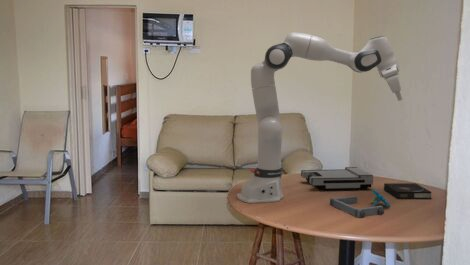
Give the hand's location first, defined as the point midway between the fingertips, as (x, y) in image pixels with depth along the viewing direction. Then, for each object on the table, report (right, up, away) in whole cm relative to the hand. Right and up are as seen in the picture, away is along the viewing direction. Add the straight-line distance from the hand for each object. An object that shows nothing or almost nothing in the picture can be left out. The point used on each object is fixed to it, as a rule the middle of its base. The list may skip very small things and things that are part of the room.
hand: (399, 98), depth 194 cm
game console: (-21, -44, +34) cm, 60 cm away
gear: (-9, -49, -1) cm, 50 cm away
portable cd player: (+10, -47, +18) cm, 51 cm away
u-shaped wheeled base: (-21, -49, -6) cm, 54 cm away
